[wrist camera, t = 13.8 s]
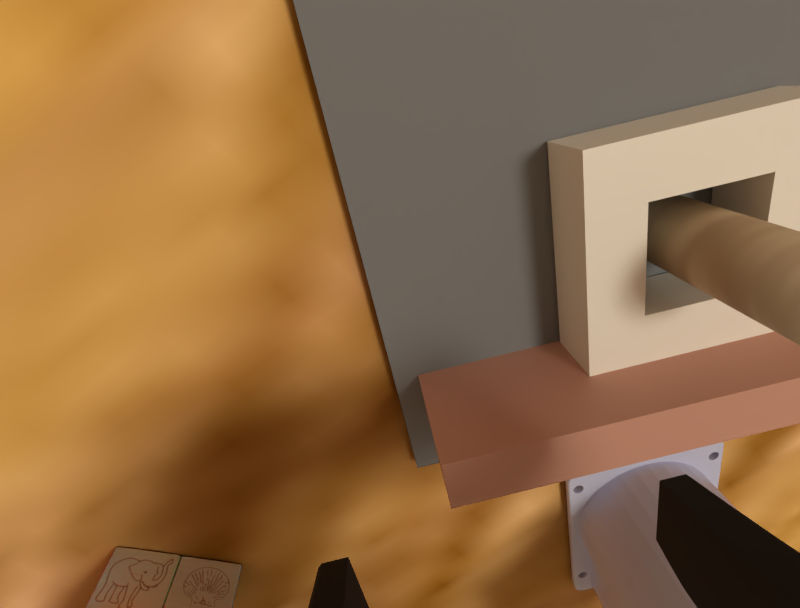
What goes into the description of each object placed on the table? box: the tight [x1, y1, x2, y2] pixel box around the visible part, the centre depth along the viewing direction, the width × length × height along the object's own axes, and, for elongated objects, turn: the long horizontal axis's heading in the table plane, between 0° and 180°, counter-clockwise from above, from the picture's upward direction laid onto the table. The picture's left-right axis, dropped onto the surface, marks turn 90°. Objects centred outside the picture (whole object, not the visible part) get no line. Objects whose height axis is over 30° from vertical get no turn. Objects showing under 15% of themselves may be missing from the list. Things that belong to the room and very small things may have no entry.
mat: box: [293, 0, 800, 468], centre depth 16 cm, size 24×22×1 cm
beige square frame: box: [547, 86, 800, 376], centre depth 16 cm, size 8×8×2 cm
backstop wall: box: [418, 331, 800, 509], centre depth 17 cm, size 2×20×5 cm, turn 102°
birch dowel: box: [647, 195, 800, 345], centre depth 14 cm, size 2×2×7 cm
